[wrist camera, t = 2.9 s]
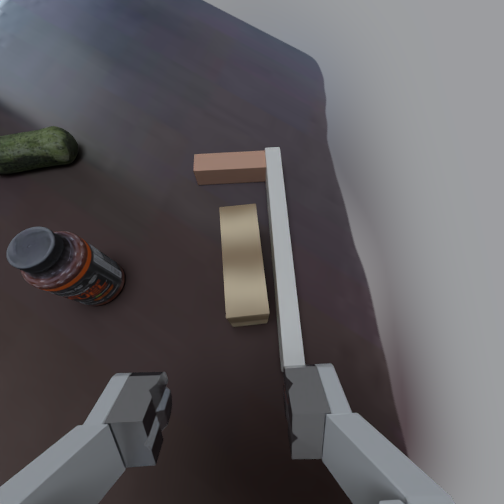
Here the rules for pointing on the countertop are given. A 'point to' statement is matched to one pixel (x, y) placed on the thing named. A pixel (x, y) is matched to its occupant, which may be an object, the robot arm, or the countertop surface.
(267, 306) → the long beige block
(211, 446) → the countertop surface
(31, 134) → the vegetable
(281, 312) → the board
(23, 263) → the supplement bottle
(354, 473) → the robot arm
